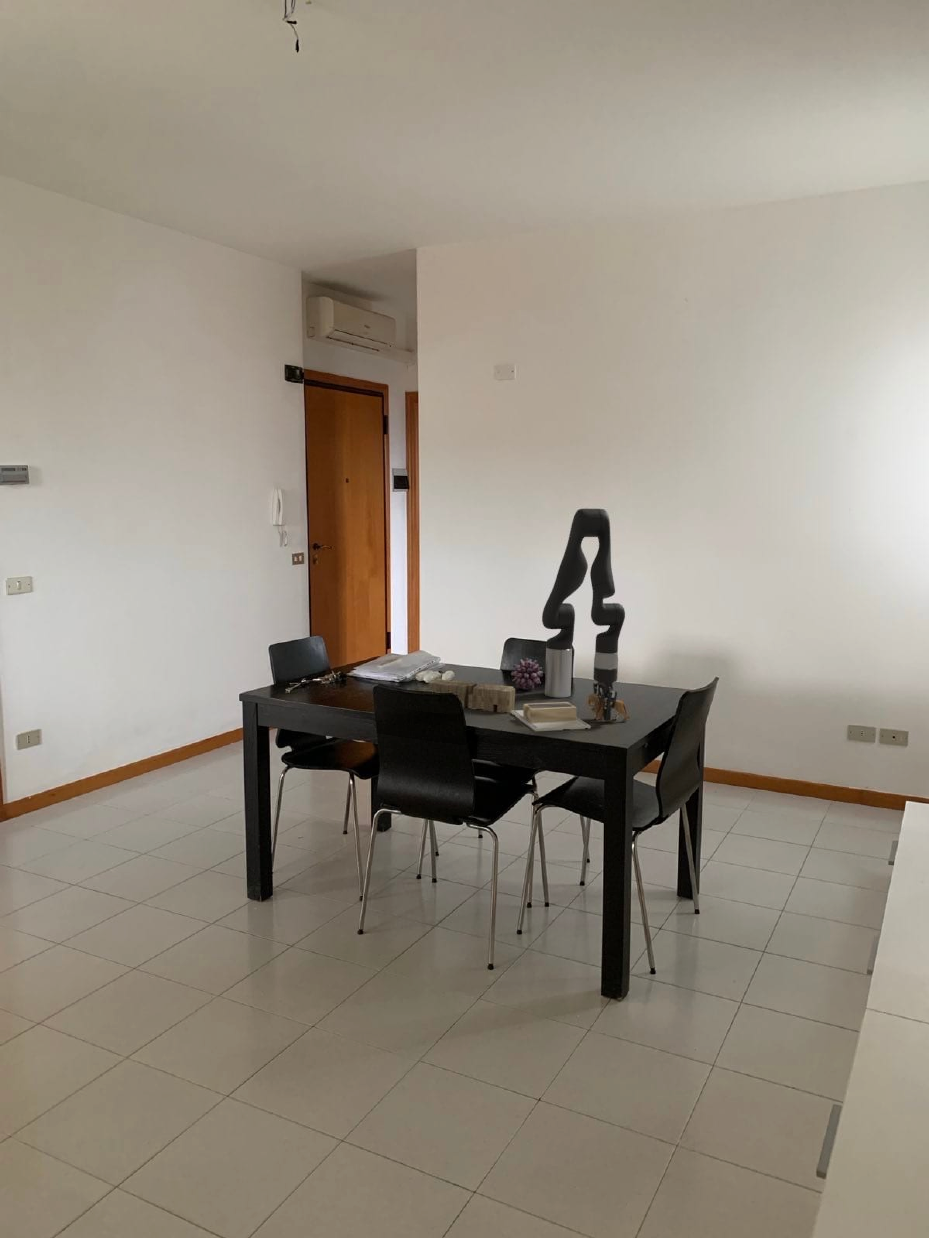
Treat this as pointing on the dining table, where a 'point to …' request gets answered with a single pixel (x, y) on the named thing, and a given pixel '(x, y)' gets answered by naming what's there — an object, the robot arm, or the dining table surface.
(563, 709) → the wooden box
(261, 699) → the dining table surface
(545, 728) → the mat
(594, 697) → the lion figurine
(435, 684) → the block tower
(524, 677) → the flower
